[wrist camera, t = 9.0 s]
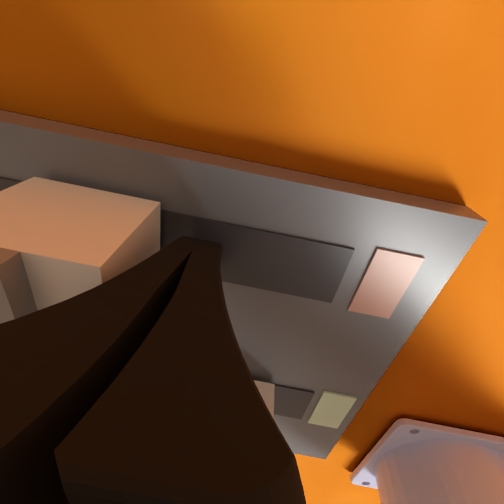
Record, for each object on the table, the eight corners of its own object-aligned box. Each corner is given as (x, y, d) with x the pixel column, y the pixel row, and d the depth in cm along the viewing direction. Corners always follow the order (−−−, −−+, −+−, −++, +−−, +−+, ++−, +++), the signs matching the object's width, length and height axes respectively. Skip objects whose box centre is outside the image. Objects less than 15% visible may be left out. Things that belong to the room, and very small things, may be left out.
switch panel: (466, 206, 10) (489, 223, 9) (323, 437, 18) (325, 461, 17) (-64, 96, 10) (-109, 100, 9) (39, 383, 18) (23, 403, 17)
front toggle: (160, 202, 9) (83, 285, 6) (159, 280, 11) (100, 382, 7) (34, 176, 9) (-123, 244, 6) (53, 259, 11) (-59, 352, 7)
